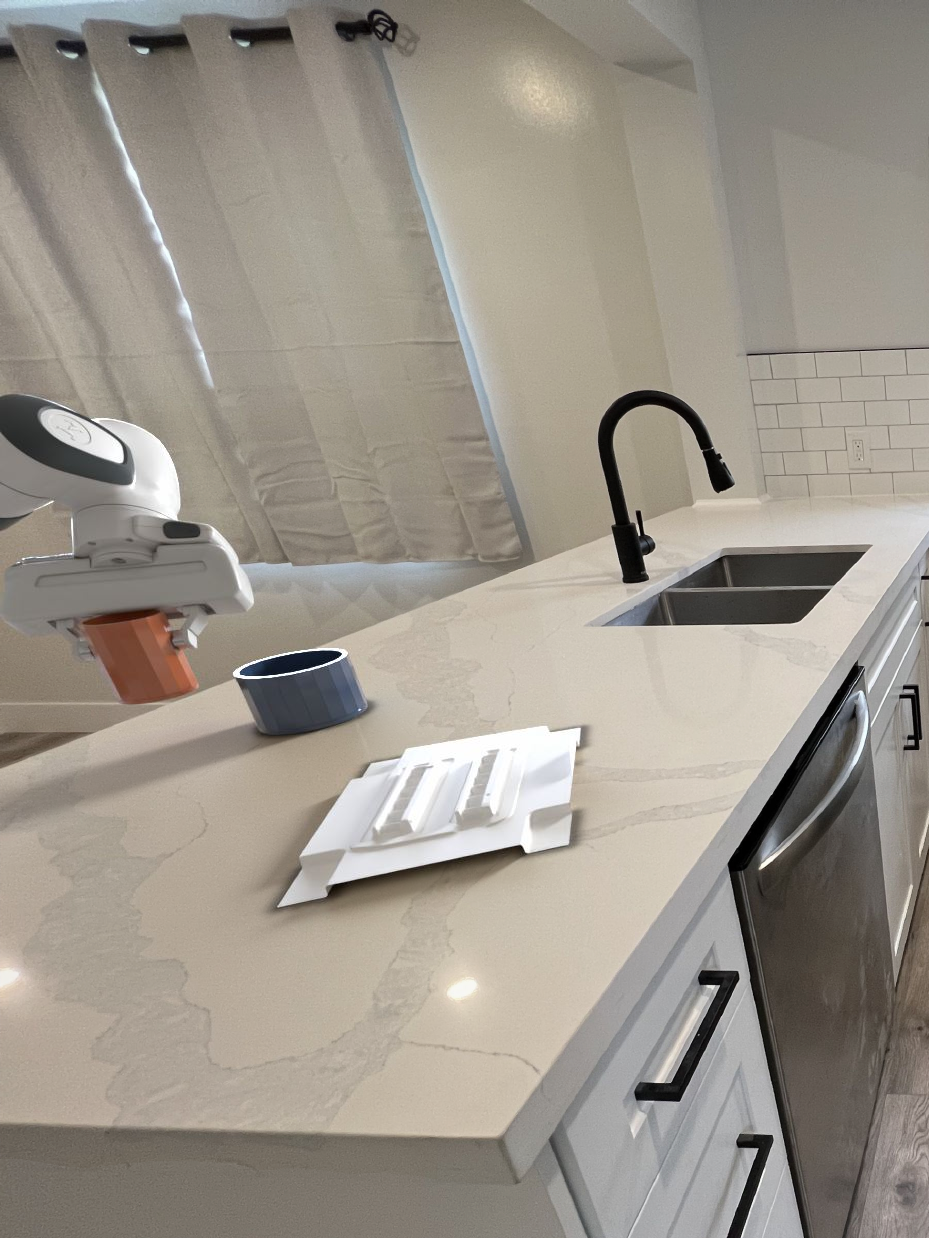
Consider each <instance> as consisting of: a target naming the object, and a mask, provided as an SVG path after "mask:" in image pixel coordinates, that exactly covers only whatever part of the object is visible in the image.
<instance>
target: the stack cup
mask: <svg viewBox="0 0 929 1238" xmlns="http://www.w3.org/2000/svg"><path fill="white" fill-rule="evenodd" d="M232 675H233V678H234V680H235V682H236V683H237V686H238V689H239V691H240V693H241V695H242V698H243V700H244V702H245V704H246V706H247V708H248V710H249V713H250V715H251V716H252V719H253V721H254V723H255V725H256V727H257V729H258V731H259V732H260V733H262V734H265V735H273V736H281V735H282V736H285V735H293V734H294V735H296V734H302V733H308V732H313V731H317V730H322V729H325V728H329V727H332V726H336V725H339V724H341V723H344V722H345V723H346V722H347V721H350V720H352V719H354V718H356V717H358V716H360V715H361V714H363V713H364V712H366V710H367V709H368V707H369V705H368V703H367V701H368V700H367V698H366V696H365V693H364V690H363V687H362V686H361V683H360V680H359V678H358V675H357V672H356V669H355V667H354V665H353V662H352V660H351V657H350V655H349V652H347V651H346V650H345V649H341V648H340V649H339V648H317V649H307V650H299V651H293V652H287V653H282V654H278V655H273V656H269V657H266V658H263V659H259V660H256V661H252V662H250V663H247V664H244V665H243V666H241V667H239V668H237V669H235V670H234V672H232Z"/></svg>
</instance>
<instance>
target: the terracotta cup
mask: <svg viewBox="0 0 929 1238" xmlns="http://www.w3.org/2000/svg"><path fill="white" fill-rule="evenodd" d="M78 626H79V628H80V630H81V632H82V634H83V636H84V638H83V639H84V641H86V642H87V644H88V646H89V647H90V649H91V651H92V653H93V655H94V657H95V659H96V661H95V662H96V663H97V664H98V667H99V668H100V671H101V673H102V675H103V676H104V679H105V680H106V682H107V685H108V686H109V688H110V690H111V692H112V694H113V695H114V698H115V699H116V700H117V702H118V703H119V704H121V705H126V706H137V705H145V704H152V703H158V702H163V701H167V700H171V699H172V700H173V699H175V698H179V697H182V696H185V695H188V694H190V693H193V692H195V691H196V690H198V689H199V688H200V685H199V682H198V679H197V677H196V674H195V673H194V670H193V669H192V666H191V664H190V663H189V660H188V658H187V655H186V654H185V652H184V651H185V650H178V648H177V647H175V646H174V645H173V643H172V638H173V637H172V635H171V631H173V630H174V629H173V626H172V624H171V621H169V620H168V617H167V615H166V613H165V611H164V610H161V609H151V610H142V611H133V612H124V613H115V614H107V615H102V616H97V617H93V618H90V619H86V620H84V621H81V622H79V623H78Z"/></svg>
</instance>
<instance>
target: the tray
mask: <svg viewBox="0 0 929 1238" xmlns="http://www.w3.org/2000/svg"><path fill="white" fill-rule="evenodd" d="M581 731H582V727H576V728H568V729H563V730H557V731H550V730H549V728H548V726H547V725H540V726H539V725H538V726H533V727H527V728H521V729H520V728H519V729H514V730H509V731H502V732H497V733H496V732H495V733H491V734H485V735H479V736H474V737H473V736H472V737H467V738H462V739H461V738H460V739H455V740H450V741H444V742H443V741H442V742H438V743H432V744H424V745H420V746H414V747H407V748H406V749H405V750H404V751H403V753H402V755H401V756H400V757H399V758H394V759H388V760H382V761H377V762H371V763H370V765H368V767H367V769H366V771H365V772H364V773H363V774H362V777H358V778H353V779H350V781H349V782H348V784H347V785H346V786H345V788H344V789H343V791H342V793H341V794H340V796H339V797H338V798H337V800H336V801H335V803H333V806H332V807H331V808H330V810H329V812H328V813H327V815H326V816H325V818H324V819H323V820H322V823H320V825H319V827H318V828H317V829H316V831H315V833H313V836H312V837H311V838H310V839H309V841H308V843H307V844H306V846H305V848H304V849H303V850H302V851H301V853H300V854H299V857H298V860H299V863H300V865H301V870H300V871H299V872H298V875H297V876H296V877H295V879H294V880H293V882H292V883H291V885H290V887H289V888H288V890H287V891H286V893H285V894H284V896H283V897H282V899H281V900H280V902H279V904H278V905H277V908H281V907H286V906H290V905H296V904H301V903H305V902H309V901H315V900H318V899H319V900H320V899H324V898H327V896H328V894H329V893H330V891H331V889H332V887H333V886H334V885H336V884H341V883H345V882H350V881H351V882H352V881H355V880H361V879H364V878H369V877H374V876H379V875H384V874H388V873H392V872H393V873H394V872H397V871H403V870H406V869H412V868H417V867H422V866H426V865H431V864H436V863H440V862H446V861H450V860H454V859H455V860H456V859H458V858H463V857H467V856H474V855H478V854H482V853H487V852H488V853H489V852H493V851H498V850H503V849H506V848H510V847H515V846H522V848H523V850H524V853H526V854H532V853H536V852H541V851H545V850H549V849H554V848H555V849H556V848H560V847H564V846H569V844H570V836H571V830H572V829H571V828H572V820H573V811H572V807H571V794H572V786H573V778H574V768H575V760H576V759H575V758H576V750H577V747H580V743H581V742H580V741H581Z"/></svg>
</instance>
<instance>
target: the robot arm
mask: <svg viewBox="0 0 929 1238" xmlns="http://www.w3.org/2000/svg"><path fill="white" fill-rule="evenodd" d="M53 502H55V503H59V504H61V505H63V506H65V507H67V508H68V509H69V510H70V512H71V537H72V538H71V539H72V540H71V541H72V553H65V554H64V553H63V554H55V555H49V556H42V557H39V556H30V557H25V558H22V559H21V561H20V562H16V563H14V564H12V565H10V566H7V567H6V568H5V569H4V571H3V584H4V585H3V588H2V592H1V593H2V594H1V597H0V618H1V620H2V621H3V622H4V623H6V624H7V625H9V626H10V627H11V628H13V629H14V630H15V631H18V632H20V634H23V635H24V636H27V637H29V638H36V637H45V636H53V635H61V636H62V637H63V638H64V639H66V641H68V642H69V643H70V644H71V653H72V656H73V659H75V660H77V661H78V662H79V663H80V664H86V663H93V662H97V661H96V659H95V657H94V655H93V653H92V651H91V649H90V647H89V646H88V644H87V642H86V640H82V639H85V638H84V636H83V634H82V632H81V630H80V628H79V626H78V623H79V622H81V621H84V620H86V619H90V618H93V617H97V616H102V615H107V614H115V613H124V612H133V611H142V610H151V609H161V610H164V611H165V613H166V615H167V617H168V620H169V622H174V621H181V620H182V621H183V620H185V621H184V623H183V624H182V626H181V627H180V629H175V630H174V629H173V631H171V635H172V637H173V638H172V643H173V645H174V646H175V647H177V648H178V650H183V651H187V650H195V649H198V639H197V637H199V636H200V634H201V633H202V632H203V631H204V629H205V628H206V627H207V625H208V624H209V617H215V616H216V617H217V616H224V615H226V616H227V615H234V614H235V615H236V614H243V613H247V612H248V611H249V610H251V608H252V607H253V606H254V605H255V598H254V597H255V596H254V592H253V588H252V585H251V582H250V579H249V577H248V574H247V573H246V571H245V570H244V569H243V568H242V567H241V566H240V563H239V562H240V560H239V556H238V555H237V553H236V551H235V550H234V548H233V547H232V546H231V544H230V543H229V542H228V540H227V539H226V538H225V537H224V536H223V535H222V534H221V533H220V532H219V531H218V530H216V528H214V527H213V526H212V525H211V524H207V523H203V522H202V523H201V522H194V521H186V520H179V519H178V515H179V512H180V510H181V494H180V486H179V479H178V475H177V471H176V468H175V465H174V463H173V461H172V458H171V456H170V454H169V452H168V451H167V449H166V448H165V446H164V445H163V444H162V442H161V441H160V440H159V439H158V438H157V437H155V436H154V435H153V434H152V433H150V432H148V431H147V430H145V429H143V428H141V427H139V426H137V425H135V424H132V423H129V422H127V421H122V420H119V419H112V418H94V419H92V418H90V417H88V416H87V415H84V414H81V413H79V412H77V411H75V410H73V409H71V408H68V407H66V406H64V405H63V404H59V403H57V402H54V401H51V400H48V399H45V398H41V397H38V396H34V395H29V394H22V393H8V394H3V395H1V396H0V532H3V531H6V530H8V529H9V528H11V527H12V526H14V525H16V524H17V523H19V522H20V521H22V520H24V519H25V518H27V517H28V516H29V515H31V514H32V513H34V511H36V510H38V509H41V508H42V507H45V506H47V505H49V504H51V503H53Z"/></svg>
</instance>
